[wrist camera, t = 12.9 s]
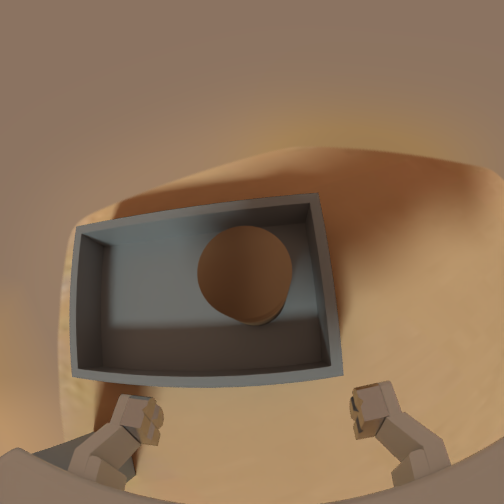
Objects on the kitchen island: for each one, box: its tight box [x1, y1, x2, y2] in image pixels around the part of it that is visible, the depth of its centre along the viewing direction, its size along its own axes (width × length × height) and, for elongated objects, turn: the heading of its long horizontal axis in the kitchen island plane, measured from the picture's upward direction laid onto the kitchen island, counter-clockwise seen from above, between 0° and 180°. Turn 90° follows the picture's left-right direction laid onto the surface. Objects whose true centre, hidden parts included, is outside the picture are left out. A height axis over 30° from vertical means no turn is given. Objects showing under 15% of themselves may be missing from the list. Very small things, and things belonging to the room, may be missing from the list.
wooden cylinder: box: [197, 226, 292, 326], centre depth 19 cm, size 5×5×9 cm
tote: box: [70, 193, 343, 388], centre depth 22 cm, size 22×14×5 cm, turn 95°
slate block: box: [32, 432, 136, 483], centre depth 16 cm, size 4×4×10 cm
